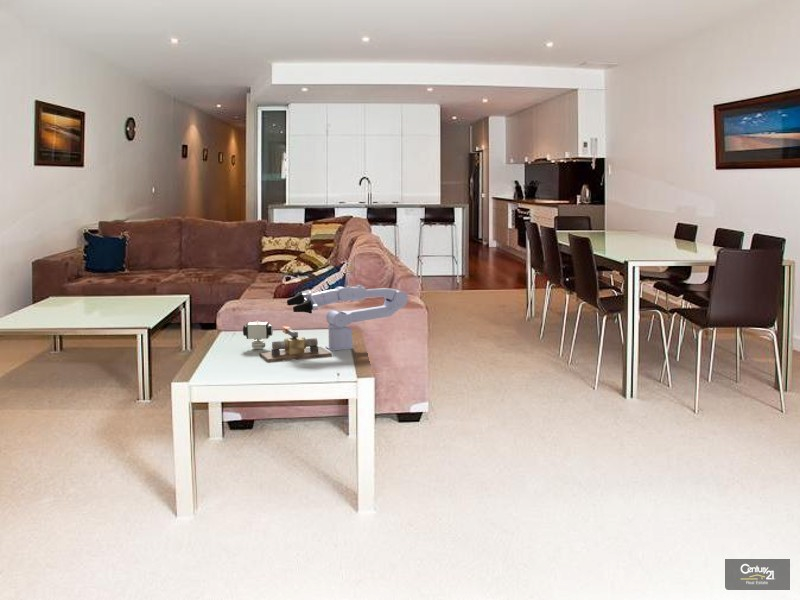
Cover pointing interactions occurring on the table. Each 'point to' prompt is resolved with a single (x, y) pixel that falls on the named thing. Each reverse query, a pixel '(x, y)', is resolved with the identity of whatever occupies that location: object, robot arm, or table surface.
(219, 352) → the table surface
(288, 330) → the valve lever
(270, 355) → the ball valve
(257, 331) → the pneumatic valve
